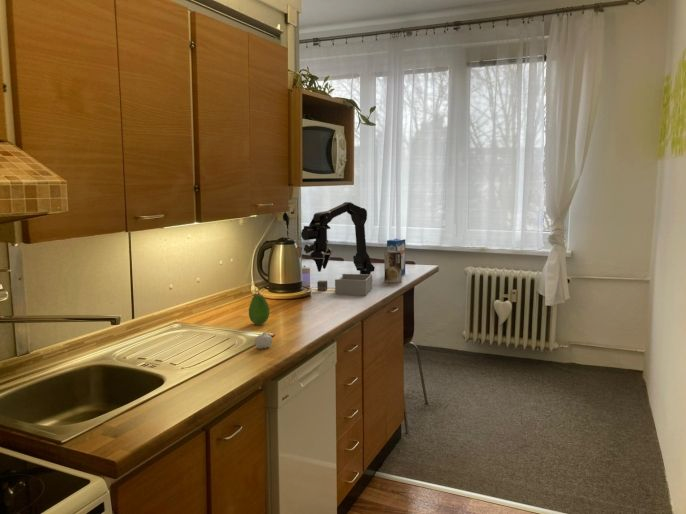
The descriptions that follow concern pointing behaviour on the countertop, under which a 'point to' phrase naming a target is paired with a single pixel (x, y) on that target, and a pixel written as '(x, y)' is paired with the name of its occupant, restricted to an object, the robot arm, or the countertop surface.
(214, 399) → the countertop surface
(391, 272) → the coffee box
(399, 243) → the milk carton
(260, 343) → the garlic
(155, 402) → the countertop surface
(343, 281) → the box
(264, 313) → the avocado
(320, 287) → the cover plate
